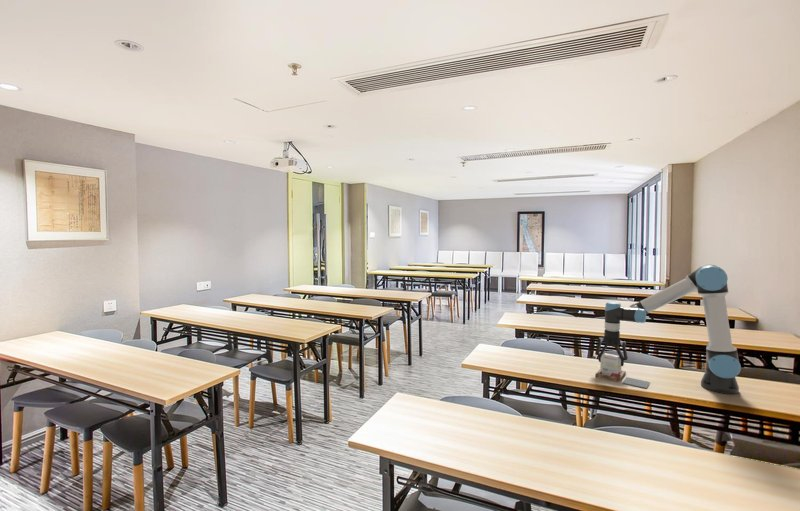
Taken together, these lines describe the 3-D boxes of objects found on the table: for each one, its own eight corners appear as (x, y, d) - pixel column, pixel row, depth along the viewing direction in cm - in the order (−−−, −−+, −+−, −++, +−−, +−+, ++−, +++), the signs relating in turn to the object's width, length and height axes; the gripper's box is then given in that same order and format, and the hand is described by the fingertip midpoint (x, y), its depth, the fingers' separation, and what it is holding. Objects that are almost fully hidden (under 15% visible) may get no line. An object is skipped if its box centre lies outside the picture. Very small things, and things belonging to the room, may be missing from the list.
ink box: (620, 376, 214) (621, 355, 214) (618, 378, 211) (618, 357, 210) (603, 372, 220) (604, 352, 220) (601, 374, 216) (601, 354, 216)
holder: (625, 374, 218) (625, 371, 218) (619, 382, 205) (619, 378, 205) (602, 369, 225) (602, 366, 225) (595, 376, 213) (595, 373, 213)
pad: (649, 383, 205) (649, 381, 205) (646, 389, 196) (646, 387, 196) (626, 378, 212) (626, 377, 212) (622, 383, 203) (622, 382, 203)
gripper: (635, 331, 210) (633, 372, 211) (593, 325, 224) (591, 363, 225) (632, 334, 205) (631, 375, 206) (589, 328, 218) (588, 367, 219)
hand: (610, 369), depth 215 cm, fingers closed on ink box, 8 cm apart
